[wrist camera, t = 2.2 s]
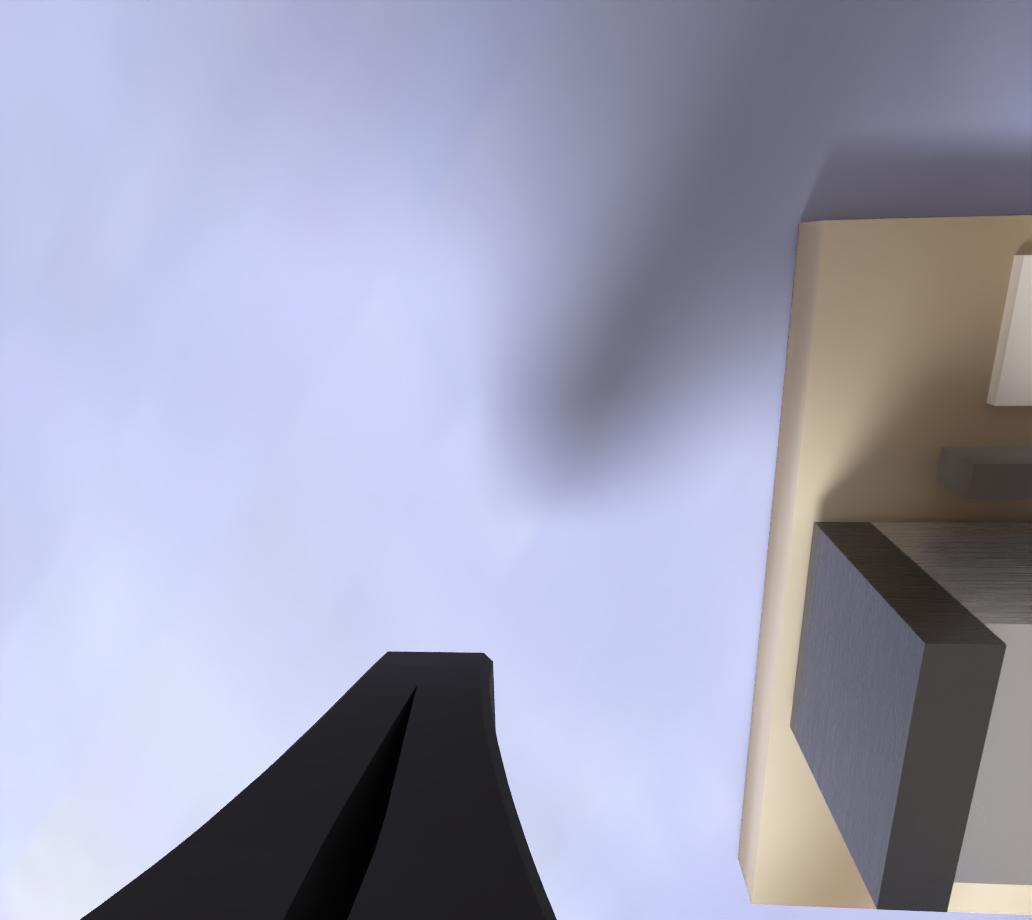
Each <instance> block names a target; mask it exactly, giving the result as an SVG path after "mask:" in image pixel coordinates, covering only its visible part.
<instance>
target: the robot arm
mask: <svg viewBox="0 0 1032 920" xmlns="http://www.w3.org/2000/svg"><path fill="white" fill-rule="evenodd" d="M80 920H557V919H556V917H555V914H554V912H553V909H552V907H551V905H550V902H549V900H548V897H547V895H546V893H545V890H544V887H543V885H542V882H541V880H540V877H539V874H538V872H537V869H536V867H535V864H534V861H533V858H532V856H531V853H530V850H529V847H528V845H527V842H526V839H525V836H524V833H523V830H522V827H521V824H520V821H519V818H518V815H517V812H516V809H515V805H514V802H513V799H512V795H511V792H510V789H509V785H508V782H507V778H506V774H505V770H504V766H503V762H502V758H501V754H500V750H499V746H498V742H497V737H496V730H495V704H494V679H493V661H492V660H491V659H490V658H489V657H488V656H487V655H485V654H484V653H454V652H387V653H386V654H385V655H384V656H383V657H382V658H381V659H379V660H378V661H377V662H376V663H375V664H374V665H373V666H372V667H371V668H370V669H369V670H368V671H367V672H366V673H365V674H364V675H363V676H362V677H361V678H360V679H359V680H358V681H357V682H356V683H355V684H354V685H353V686H352V687H351V688H350V689H349V690H348V691H347V692H346V693H345V694H344V695H343V696H342V697H341V698H340V699H339V700H338V701H337V702H336V703H335V704H334V705H333V706H332V707H331V708H330V709H329V710H328V711H327V712H326V713H325V714H324V715H323V716H322V717H321V718H320V719H319V720H318V721H317V722H316V723H315V724H314V725H313V726H312V727H311V728H310V729H309V730H308V731H307V732H306V733H305V734H304V735H303V736H302V737H300V738H299V739H298V740H297V741H296V742H295V743H294V744H293V745H292V746H291V747H290V748H289V749H288V750H287V751H286V752H285V753H284V754H283V755H282V756H281V757H280V758H279V759H277V760H276V761H275V762H274V763H273V764H272V765H271V766H270V767H269V768H268V769H267V770H266V771H265V772H263V773H262V774H261V775H260V776H259V777H258V778H257V779H256V780H254V781H253V782H252V783H251V784H250V785H249V786H248V787H246V788H245V789H244V790H243V791H242V792H241V793H240V794H238V795H237V796H236V797H235V798H234V799H233V800H232V801H230V802H229V803H228V804H227V805H226V806H225V807H224V808H222V809H221V810H220V811H219V812H218V813H217V814H216V815H214V816H213V817H212V818H211V819H210V820H209V821H208V822H207V823H205V824H204V825H203V826H202V827H201V828H199V829H198V830H197V831H196V832H194V833H193V834H192V835H191V836H190V837H188V838H187V839H186V840H185V841H183V842H182V843H181V844H180V845H178V846H177V847H176V848H175V849H173V850H172V851H171V852H169V853H168V854H167V855H166V856H164V857H163V858H162V859H161V860H159V861H158V862H157V863H156V864H154V865H153V866H152V867H150V868H149V869H148V870H146V871H145V872H144V873H142V874H141V875H140V876H138V877H137V878H136V879H134V880H133V881H132V882H130V883H129V884H128V885H126V886H125V887H124V888H122V889H121V890H120V891H118V892H117V893H116V894H114V895H113V896H112V897H110V898H109V899H108V900H106V901H105V902H104V903H102V904H101V905H100V906H98V907H97V908H96V909H94V910H93V911H91V912H90V913H89V914H87V915H86V916H84V917H83V918H82V919H80Z"/></svg>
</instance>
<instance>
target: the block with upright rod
mask: <svg viewBox="0 0 1032 920" xmlns="http://www.w3.org/2000/svg"><path fill="white" fill-rule="evenodd" d="M790 728H791V730H792V732H793V734H794V736H795V738H796V741H797V743H798V745H799V747H800V749H801V751H802V753H803V755H804V757H805V760H806V762H807V764H808V766H809V768H810V770H811V772H812V774H813V776H814V778H815V781H816V783H817V785H818V787H819V789H820V791H821V793H822V795H823V797H824V799H825V802H826V804H827V806H828V808H829V810H830V812H831V814H832V816H833V818H834V821H835V823H836V825H837V827H838V829H839V831H840V833H841V835H842V837H843V839H844V842H845V844H846V846H847V848H848V850H849V852H850V854H851V856H852V858H853V860H854V863H855V865H856V867H857V869H858V871H859V873H860V875H861V877H862V879H863V882H864V884H865V886H866V888H867V890H868V892H869V894H870V896H871V898H872V900H873V903H874V905H875V907H876V909H883V910H909V911H934V912H947V910H948V906H949V901H950V897H951V892H952V888H953V883H981V884H1008V885H1032V523H1022V522H814V525H813V533H812V542H811V550H810V559H809V567H808V576H807V584H806V593H805V601H804V610H803V618H802V627H801V635H800V644H799V652H798V661H797V669H796V678H795V686H794V695H793V703H792V712H791V720H790Z"/></svg>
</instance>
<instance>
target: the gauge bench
mask: <svg viewBox="0 0 1032 920" xmlns="http://www.w3.org/2000/svg"><path fill="white" fill-rule="evenodd" d="M814 522H1022V523H1032V215H1008V216H970V217H931V218H892V219H853V220H822V221H811V222H800V224H799V234H798V245H797V255H796V265H795V275H794V286H793V296H792V306H791V317H790V327H789V337H788V348H787V358H786V368H785V379H784V389H783V399H782V410H781V420H780V430H779V440H778V451H777V461H776V471H775V482H774V492H773V502H772V513H771V523H770V533H769V544H768V554H767V564H766V575H765V585H764V595H763V605H762V616H761V626H760V636H759V647H758V657H757V667H756V678H755V688H754V698H753V709H752V719H751V729H750V740H749V750H748V760H747V770H746V781H745V791H744V801H743V812H742V822H741V832H740V843H739V853H738V859H739V863H740V866H741V870H742V873H743V877H744V880H745V884H746V887H747V891H748V894H749V897H750V901H751V904H765V905H790V906H815V907H841V908H866V909H876V907H875V905H874V903H873V900H872V898H871V896H870V894H869V892H868V890H867V888H866V886H865V884H864V882H863V879H862V877H861V875H860V873H859V871H858V869H857V867H856V865H855V863H854V860H853V858H852V856H851V854H850V852H849V850H848V848H847V846H846V844H845V842H844V839H843V837H842V835H841V833H840V831H839V829H838V827H837V825H836V823H835V821H834V818H833V816H832V814H831V812H830V810H829V808H828V806H827V804H826V802H825V799H824V797H823V795H822V793H821V791H820V789H819V787H818V785H817V783H816V781H815V778H814V776H813V774H812V772H811V770H810V768H809V766H808V764H807V762H806V760H805V757H804V755H803V753H802V751H801V749H800V747H799V745H798V743H797V741H796V738H795V736H794V734H793V732H792V730H791V728H790V720H791V712H792V703H793V695H794V686H795V678H796V669H797V661H798V652H799V644H800V635H801V627H802V618H803V610H804V601H805V593H806V584H807V576H808V567H809V559H810V550H811V542H812V533H813V525H814ZM947 912H967V913H992V914H1018V915H1032V885H1008V884H981V883H953V888H952V892H951V897H950V901H949V906H948V910H947Z"/></svg>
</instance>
